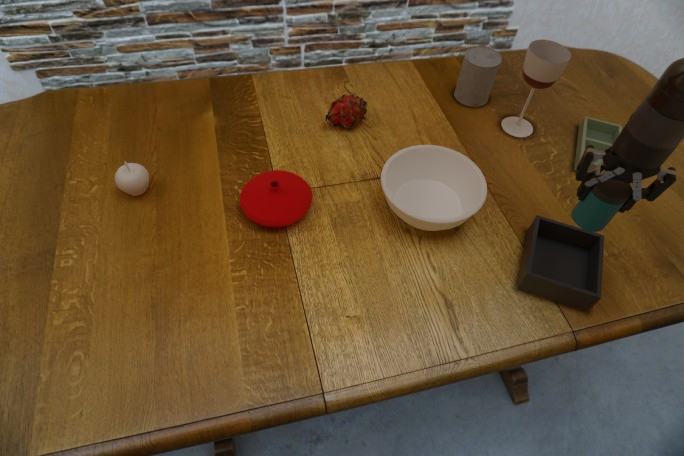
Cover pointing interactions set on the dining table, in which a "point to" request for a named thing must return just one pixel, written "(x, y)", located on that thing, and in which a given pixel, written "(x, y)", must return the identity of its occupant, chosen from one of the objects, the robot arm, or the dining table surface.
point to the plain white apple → (132, 178)
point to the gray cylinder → (477, 76)
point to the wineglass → (538, 78)
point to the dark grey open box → (562, 263)
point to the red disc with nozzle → (276, 198)
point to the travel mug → (601, 204)
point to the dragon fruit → (347, 111)
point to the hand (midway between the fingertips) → (600, 202)
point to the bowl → (433, 187)
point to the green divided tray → (595, 138)
